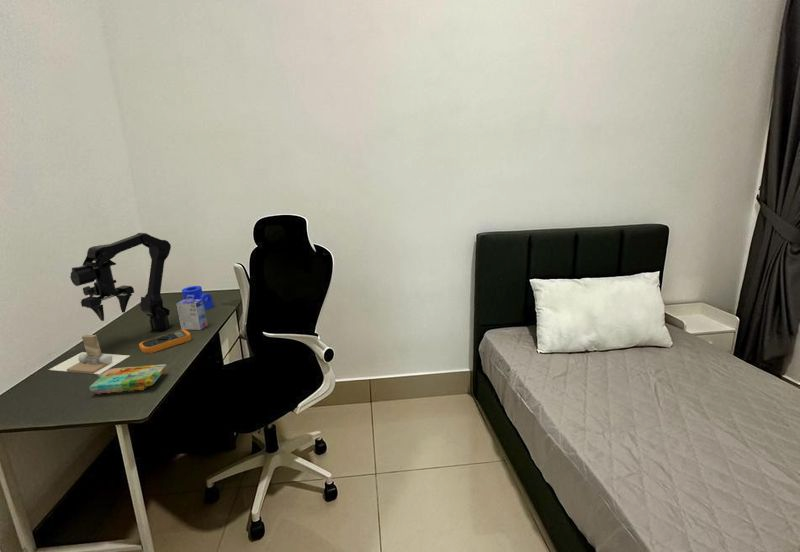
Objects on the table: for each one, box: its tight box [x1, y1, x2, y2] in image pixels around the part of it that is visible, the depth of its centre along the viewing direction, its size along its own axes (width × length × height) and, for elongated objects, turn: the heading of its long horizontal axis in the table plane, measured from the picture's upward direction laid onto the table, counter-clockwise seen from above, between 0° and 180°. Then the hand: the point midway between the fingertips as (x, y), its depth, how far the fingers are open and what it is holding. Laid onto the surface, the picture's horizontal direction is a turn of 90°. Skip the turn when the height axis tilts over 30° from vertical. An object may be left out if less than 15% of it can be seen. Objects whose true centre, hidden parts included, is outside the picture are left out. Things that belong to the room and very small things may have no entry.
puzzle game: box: [88, 364, 168, 395], centre depth 157 cm, size 12×5×20 cm
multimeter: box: [138, 329, 192, 355], centre depth 186 cm, size 9×18×3 cm, turn 132°
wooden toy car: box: [81, 334, 105, 365], centre depth 171 cm, size 3×5×11 cm
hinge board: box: [48, 351, 130, 378], centre depth 173 cm, size 14×23×4 cm, turn 76°
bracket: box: [181, 285, 215, 311], centre depth 229 cm, size 20×9×8 cm, turn 49°
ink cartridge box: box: [175, 295, 209, 331], centre depth 200 cm, size 10×6×14 cm, turn 78°
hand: (113, 316), depth 184 cm, fingers open, 9 cm apart
